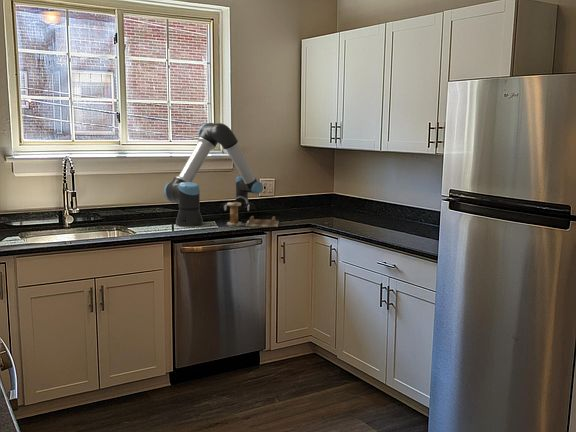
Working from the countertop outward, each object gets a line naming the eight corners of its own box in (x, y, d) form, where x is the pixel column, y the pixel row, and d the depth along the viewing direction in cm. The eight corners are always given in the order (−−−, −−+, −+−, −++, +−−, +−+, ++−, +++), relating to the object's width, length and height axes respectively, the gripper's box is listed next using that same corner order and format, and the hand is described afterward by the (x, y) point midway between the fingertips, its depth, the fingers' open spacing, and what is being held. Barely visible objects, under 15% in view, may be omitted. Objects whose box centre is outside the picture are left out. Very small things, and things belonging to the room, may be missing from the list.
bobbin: (230, 226, 333) (230, 204, 331) (224, 224, 340) (224, 202, 338) (243, 225, 337) (243, 203, 335) (237, 223, 344) (237, 201, 342)
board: (245, 226, 333) (245, 219, 333) (247, 222, 347) (247, 215, 347) (277, 226, 333) (277, 220, 332) (278, 222, 347) (278, 216, 346)
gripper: (260, 209, 368) (257, 215, 347) (220, 209, 369) (215, 214, 348) (260, 197, 367) (257, 202, 346) (220, 197, 367) (214, 201, 347)
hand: (236, 208), depth 347 cm, fingers open, 13 cm apart
